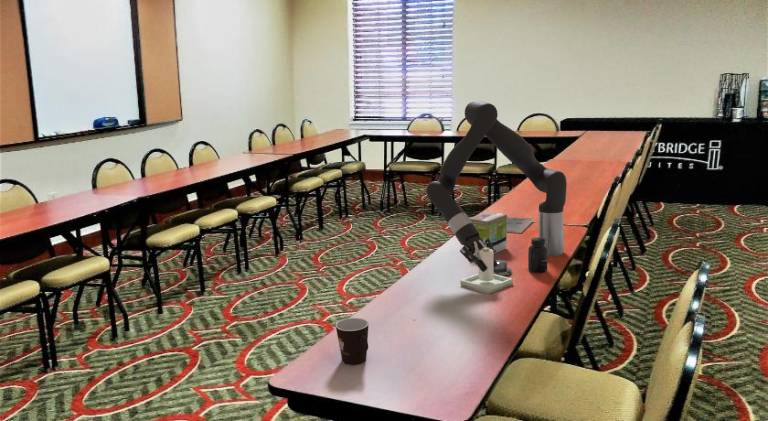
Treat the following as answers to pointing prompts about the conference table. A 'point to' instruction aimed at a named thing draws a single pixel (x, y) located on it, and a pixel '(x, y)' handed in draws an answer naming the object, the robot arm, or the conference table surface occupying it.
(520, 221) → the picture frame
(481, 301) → the conference table surface
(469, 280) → the tray
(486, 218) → the tea box
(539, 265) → the supplement bottle
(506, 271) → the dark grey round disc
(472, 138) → the robot arm
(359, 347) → the coffee mug
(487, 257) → the white knobbed cylinder
